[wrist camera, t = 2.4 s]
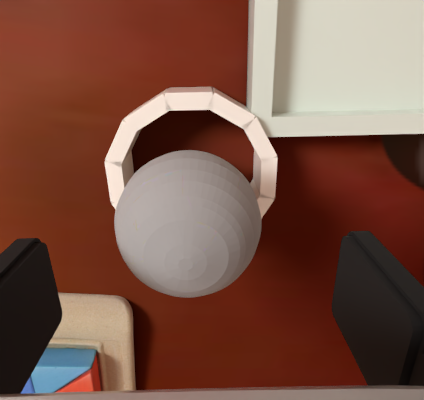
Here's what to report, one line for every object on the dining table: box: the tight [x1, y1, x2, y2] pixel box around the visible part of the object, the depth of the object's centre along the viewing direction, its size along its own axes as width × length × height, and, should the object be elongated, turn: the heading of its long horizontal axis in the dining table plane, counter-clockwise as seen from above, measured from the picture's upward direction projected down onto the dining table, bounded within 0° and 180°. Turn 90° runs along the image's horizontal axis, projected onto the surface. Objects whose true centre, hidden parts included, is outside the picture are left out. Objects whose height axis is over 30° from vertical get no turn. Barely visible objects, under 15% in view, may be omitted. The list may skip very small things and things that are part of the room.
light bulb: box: [114, 150, 261, 297], centre depth 15 cm, size 6×5×10 cm
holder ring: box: [105, 87, 278, 219], centre depth 18 cm, size 9×9×3 cm
